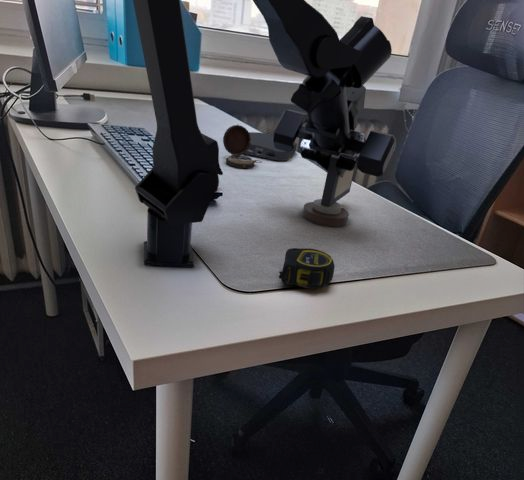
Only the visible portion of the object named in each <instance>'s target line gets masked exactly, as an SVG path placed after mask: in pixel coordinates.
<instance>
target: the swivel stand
mask: <svg viewBox="0 0 524 480" xmlns="http://www.w3.org/2000/svg"><path fill="white" fill-rule="evenodd" d="M313 202H314V201H310V202H309V201H308V202H306V203H304V205H303V209H302V217H303V218H304V219H305V220H307V221H309V222H311V223H313V224H316V225H319V226H325V227H333V228H335V227H343V226H345V225H347V224H348V219H349V216H350V212H349V211H348V210H347V209H345V208H344V207H342V208H341V212H340V213H339V214H335V215H331V214H324V213H321V212H318V211H316V210H314V209H313Z"/></svg>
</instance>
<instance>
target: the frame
mask: <svg viewBox="0 0 524 480" xmlns="http://www.w3.org/2000/svg"><path fill="white" fill-rule="evenodd" d="M339 156H340V154H339ZM339 156H335V155H332V156H331V157H330V162H329V167H328V172H326V176H325V177H326V178H325V182H324V187H323V191H322V196H321V198H317V199H314V200H313V201H312V202H313V209H314V210H316V211H318V212H321V213H324V214H331V215H335V214H339V213H340V212H341V208H343V206H342V204H341V203H339V202H338V201H340V200H341V199H342V198H344V197H345V196H346V195H347V194H349V193H350V192H351V187H352V183H353V179H354V175H355V171H356V168H357V165H356V166H355V168H354V169H353V170H352V171H345V174H344V176H343V178H342V177H340V176H339V174H338V172H337V170H336V168H335V165H336V163H337V161H338V159H339Z"/></svg>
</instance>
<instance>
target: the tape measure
mask: <svg viewBox="0 0 524 480" xmlns="http://www.w3.org/2000/svg"><path fill="white" fill-rule="evenodd" d="M335 267H336V265H335V262H334V259H333V257H332V256H331V255H330V254H328V253H326V252H325V251H322V250H320V249H316V248H307V247H306V248H301V247H300V248H299V247H298V248H297V247H292V248H288V249H287V250H286V251H285V255H284V262H283V266H282V270H281V271H280V270H279V272H278V274H279V275H278V278H279V279H281V282H282V284H284V285H285V286H286V285H288V286H294V285H295V286H298V287H300V288H304V289H308V290H309V289H310V290H311V289H322V288H324V287H326V286H328V285H329V284H330V283H331V282H332V280H333V277H334V273H335V269H336V268H335Z"/></svg>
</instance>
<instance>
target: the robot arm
mask: <svg viewBox="0 0 524 480" xmlns="http://www.w3.org/2000/svg"><path fill="white" fill-rule="evenodd" d="M252 2H253V3H254V5H255V7H256V8H257V10H258V11H259V12H260V14H261V16H262V17H263V19H264V21H265V23H266V26H267V33H268V41H269V43H270V45H271V48H272V50H273V52H274V54H275V57H276V60H277V61H278V63H279V64H280V66H282V67H283V68H284V69H286V70H288V71H292V72H295V73H298V74H302V75H305V76H306V77H305V78H304V79H303V80H302V83H299V85H298V88H297V89H296V90H295V91H294V92H293V93H292V95H291V98H290V102H291V103H292V104H293V105H295V106H296V107H298V108H299V109H301V110H303V111H304V112H301V111H298V110H293V109H291V108H290V109H285V110H284V111H283V112H282V114H281V116H280V118H279V120H278V122H277V123H276V126H275V127H274V129H273V132H272V133H271V134H272V141H273V144H274V147H275V149H279V150H282V151H286V152H291V151H293V149H294V142H295V143H296V140H297V138H298V139H301V142H300V144H299V147H300V148H301V149H302V150H301V152H300V157H301V158H302V159H304V160H307V161H308V162H310V163H312V164H313V165H314V166H316V167H318V168H320V170H322V171H324V172H325V173H327V172H328V167H329V162H330V157H331V156H333V155H335V156H339V154H340V156H339V159H338V161H337V163H336V165H335V168H336V170H337V172H338V174H339V176H340V177H342V178H343V176H344V174H345V171H352V170H353V169H354V168H355V169H357V170H358V171H360V172H361V174H366V175H369V176H374V177H377V178H379V177H381V176H383V175H384V173H385V171H386V169H387V167H388V165H389V163H390V160H391V158H392V157H393V154H394V153H395V149H396V148H397V139H396V137H395V135H394V134H390V133H388V132H387V133H386V132H382V131H378V130H375V129H372V130H370V131H369V134H368V135H367V137H366V138H365V136H366V135H365V134H366V133H364V132H360V131H357V130H356V128H357V126H358V117H359V115H360V114H361V112H362V111H363V110H364V109H365V102H366V101H365V100H366V94H367V93H366V92H367V87H366V86H364V85H365V84H366V83H367V82H368V81H369V80H370V79H371V78H373V76H374V75H375V74H376V73H377V71H379V69H381V68H382V66H383V65H385V63H386V62H387V61H388V60H389V59H391V56H392V52H393V51H392V43H391V41H390V40H388V39H387V36H386V35H385V34H384V32H383V31H382V30H381V29H380V28H379V27H378V26H377V25H375V23H374V18H373V17H370V16H363V15H361V16H360V17H358V19H357V20H356V21H355V22H354V24H353V25H352V27H351V28H350V29H349V30H348V31H347V32H346V33H345V34H344V35H343V36H342V37H341V38H339V35H338V32H337V31H336V29H335V28H334V27H333V26H332V24H331V23H330V22H329V21H328V19H326V18H325V16H324V15H323V14H322V13H321V12H320V11H319V10H317V9H316V8H315V7H313V6H312V5H311V4H310V3H308V1H306V0H252ZM132 3H133V8H134V14H135V18H136V19H135V20H136V24H137V28H138V33H139V34H138V35H139V39H140V43H141V44H140V45H141V48H142V49H141V50H142V54H143V61H144V65H145V70H146V75H147V81H148V85H149V91H150V96H151V101H152V106H153V111H154V117H155V121H156V131H155V136H154V139H153V144H152V149H151V151H152V168H151V169H150V170H149V171H148V172H147V174H145V176H144V177H143V178H142V179H141V180H140V181H139V182H138V183H137V184H136V186H135V188H134V190H135V193H136V195H137V198H138V201H139V202H140V203H141V204H143V205H145V207H147V214H146V215H147V218H146V220H147V221H146V222H147V223H146V241H143V264H144V265H146V266H166V267H188V268H189V267H190V268H194V267H195V265H196V264H195V259H194V258H195V257H194V252H193V251H194V250H193V246H192V244H191V243H192V230H193V229H192V228H193V224H196V223H202V222H203V221H204V218H205V215H206V214H207V211H208V208H209V205H210V203H211V201H212V198H213V197H214V195H215V193H217V192H218V189H219V187H220V186H219V185H220V178H219V175H220V176H223V174H224V171H223V170H222V168H221V166H220V159H219V157H220V148H219V144H218V141H217V140H216V139H213V138H212V137H210V136H208V135H206V134H205V133H203V132H201V129H200V127H199V124H198V119H197V112H196V105H195V104H196V103H195V97H194V91H193V90H194V89H193V83H192V77H191V69H190V63H189V62H190V61H189V56H188V48H187V47H188V46H187V42H186V41H187V40H186V33H185V27H184V20H183V13H182V6H181V0H132ZM304 124H305V125H304ZM355 166H356V167H355Z"/></svg>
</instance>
